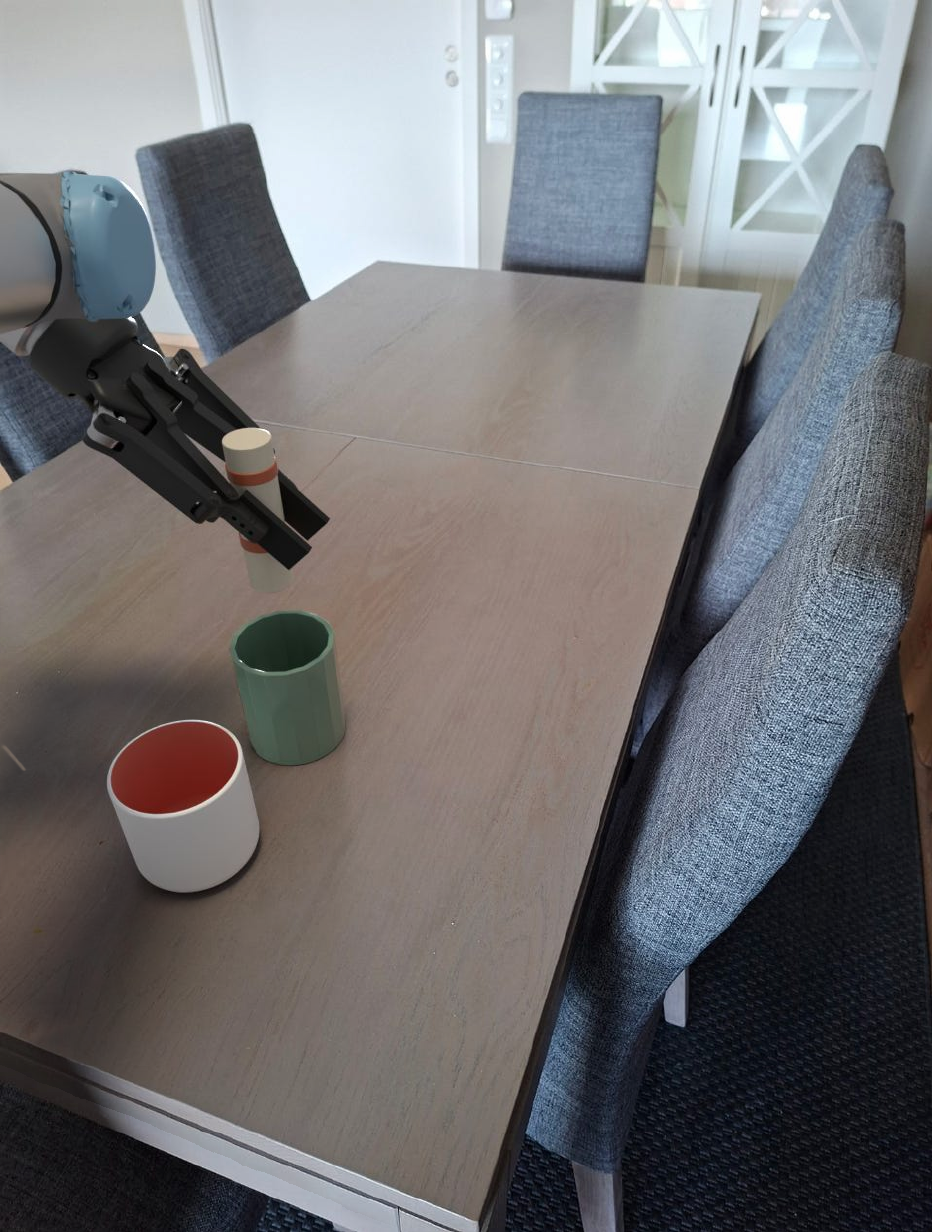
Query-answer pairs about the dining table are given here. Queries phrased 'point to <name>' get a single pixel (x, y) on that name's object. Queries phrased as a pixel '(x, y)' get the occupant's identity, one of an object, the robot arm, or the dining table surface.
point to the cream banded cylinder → (258, 474)
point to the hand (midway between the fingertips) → (309, 543)
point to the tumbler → (289, 686)
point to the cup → (185, 804)
